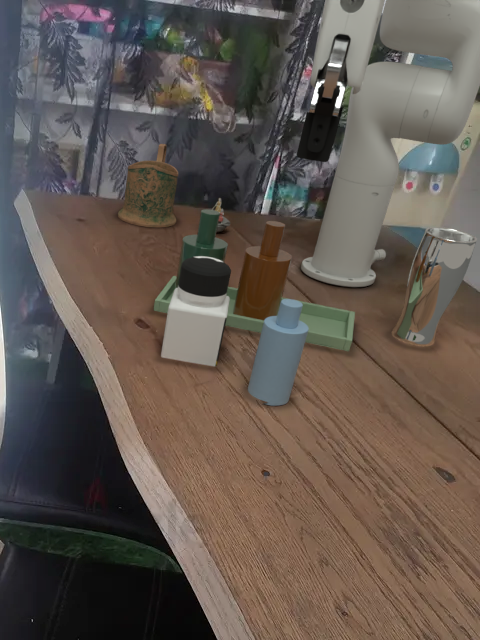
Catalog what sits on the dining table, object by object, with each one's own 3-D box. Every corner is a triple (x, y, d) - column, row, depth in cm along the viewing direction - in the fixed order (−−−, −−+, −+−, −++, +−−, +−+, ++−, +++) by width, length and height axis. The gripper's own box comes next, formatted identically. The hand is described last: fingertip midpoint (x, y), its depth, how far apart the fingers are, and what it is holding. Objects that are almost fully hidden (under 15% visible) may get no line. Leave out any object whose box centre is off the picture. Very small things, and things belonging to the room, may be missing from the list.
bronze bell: (183, 208, 153) (193, 145, 146) (171, 230, 139) (181, 162, 132) (129, 200, 155) (136, 137, 148) (112, 221, 141) (119, 153, 134)
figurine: (226, 229, 144) (232, 196, 141) (230, 235, 141) (237, 203, 137) (199, 226, 144) (205, 194, 140) (203, 233, 140) (209, 200, 137)
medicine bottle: (215, 370, 92) (235, 275, 85) (159, 360, 93) (174, 265, 86) (219, 347, 98) (238, 257, 91) (166, 338, 99) (181, 248, 91)
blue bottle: (267, 382, 91) (290, 291, 84) (297, 400, 87) (324, 307, 81) (238, 391, 88) (259, 297, 81) (268, 409, 85) (293, 314, 78)
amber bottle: (254, 304, 111) (275, 215, 103) (285, 320, 107) (309, 228, 99) (223, 311, 107) (242, 218, 100) (254, 327, 103) (276, 232, 96)
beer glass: (436, 336, 108) (476, 232, 99) (437, 354, 103) (480, 246, 94) (387, 326, 110) (423, 223, 101) (386, 343, 104) (424, 235, 95)
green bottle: (196, 293, 112) (212, 203, 105) (224, 308, 108) (243, 216, 101) (164, 298, 109) (177, 207, 101) (192, 314, 105) (208, 220, 97)
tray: (351, 324, 109) (355, 311, 108) (348, 354, 100) (352, 340, 99) (171, 288, 114) (173, 275, 113) (152, 313, 105) (154, 299, 104)
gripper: (413, -55, 60) (349, 172, 70) (405, -41, 73) (352, 146, 83) (320, -65, 61) (270, 159, 71) (329, -50, 75) (286, 136, 85)
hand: (315, 152), depth 77 cm, fingers open, 9 cm apart
